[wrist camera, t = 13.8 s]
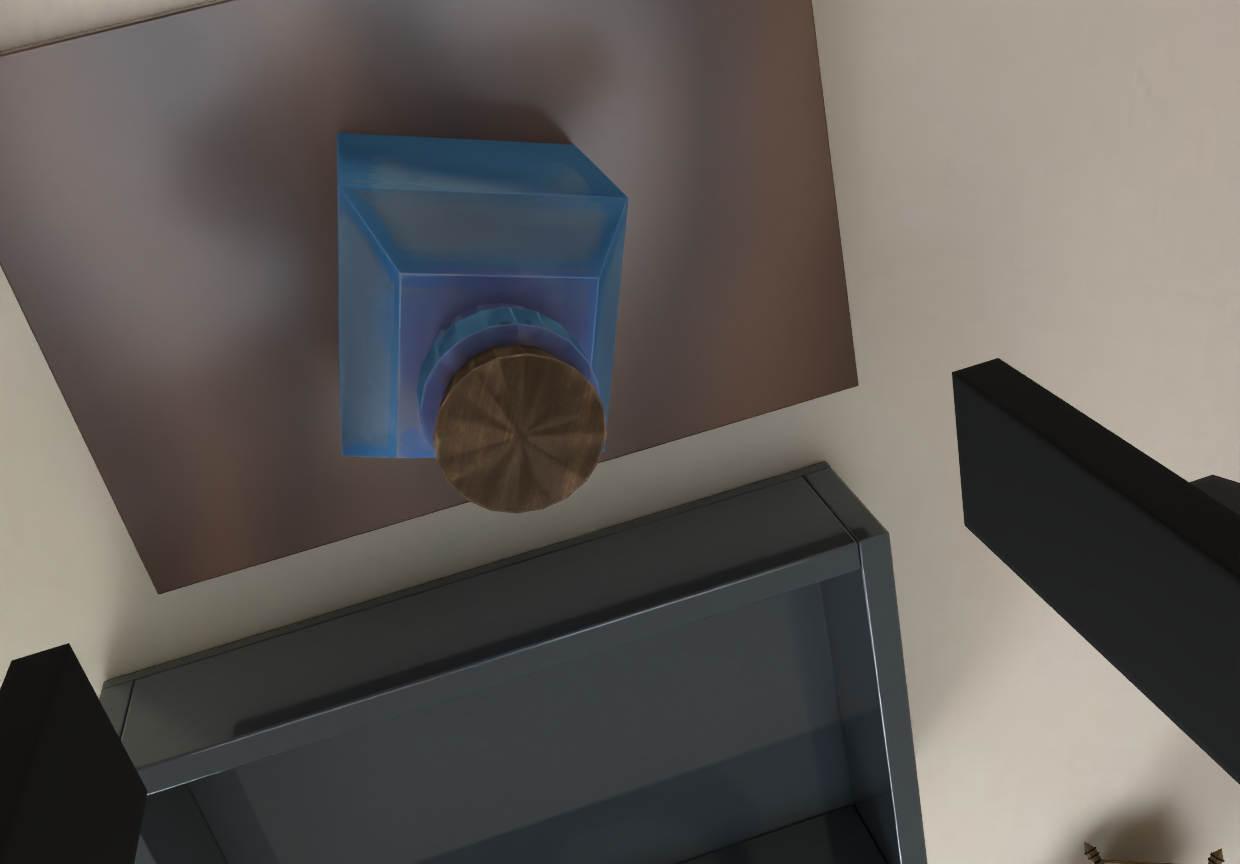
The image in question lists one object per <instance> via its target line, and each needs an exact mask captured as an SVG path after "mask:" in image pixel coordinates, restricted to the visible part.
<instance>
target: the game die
mask: <svg viewBox="0 0 1240 864" xmlns="http://www.w3.org/2000/svg"><path fill="white" fill-rule="evenodd" d="M1084 844H1085V853H1084V854H1085V855H1087V856H1088V857H1089V858H1088V859H1090V860H1092V861H1093V862H1094V864H1171V863H1151V862H1132V861H1113V860H1102V859H1101V858H1100V856H1099V852H1097V850H1096V847H1093V846H1091V845H1089V844H1087V843H1085V842H1084ZM1210 855H1211V857H1210V858H1208V860H1209V862H1208V864H1221V863H1222V862H1224V860H1223V855H1222V848H1221V849H1219V850H1217V851H1215V852H1213V853H1212V852H1211V854H1210Z"/></svg>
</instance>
